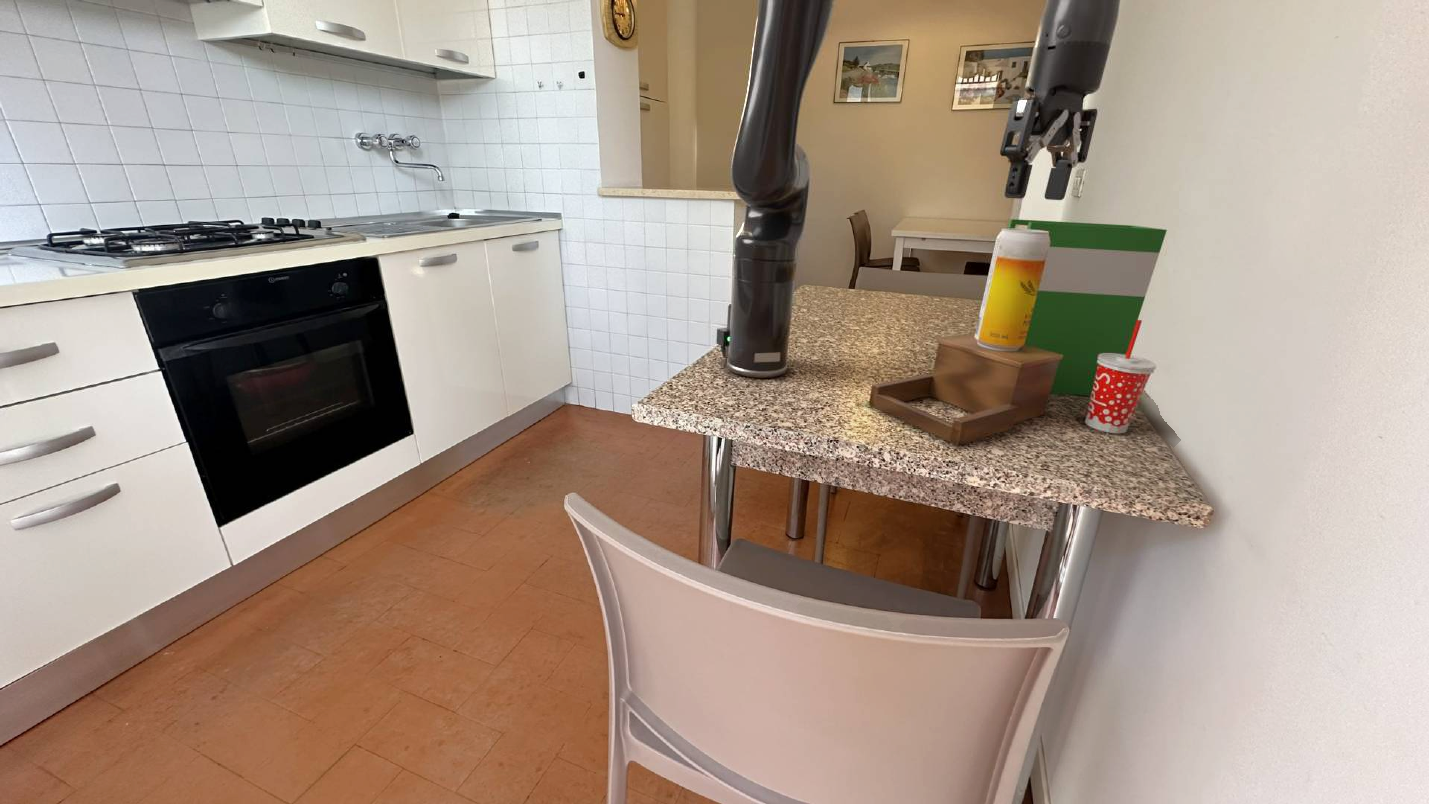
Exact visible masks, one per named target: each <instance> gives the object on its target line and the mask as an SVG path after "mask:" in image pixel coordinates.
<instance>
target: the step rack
mask: <svg viewBox="0 0 1429 804" xmlns="http://www.w3.org/2000/svg"><path fill="white" fill-rule="evenodd" d="M975 333H976V332H971V333H965V334H959V335H953V336H946V337H940V338H937V339H936V343H937V349H936V354H935V360H934V365H933V370H932V375H931V374H929V373H923V374H919V375H914V376H908V377H903V378H898V379H894V380H889V381H884V382H879V383H878V382H877V383H874V384H871V389H870V395H869V401H868V406H870V407H872V408H874V409H876V410H879V411H881V412H882V413H885V414H887V415H889V416H892V417H894V418H896V419H898V420H899V421H903V422H905V423H907V424H910V425H911V426H914V427H915V428H917V429H920V430H922V431H925V432H926V433H928V434H931V435H933V436H935V437H937V438H939V439H942V440H943V441H947V442H948V443H951V444H953V445H954V446H957V447H959V446H961V445H965V444H968V443H971V442H975V441H977V440H981V439H985V438H988V437H990V436H993V435H997V434H1000V433H1003V432H1007V431H1010V430H1013V428H1014V424H1015V423H1019V422H1023V421H1026V420H1029V419H1032V418H1036V417H1039V416H1043V415H1045V414H1046V410H1047V406H1048V403H1049V399H1050V396H1051V393H1050V392H1051V389H1052V385H1053V382H1054V378H1055V375H1056V371H1057V367H1058V364H1059V360H1060V359H1062V358H1063V355H1062V354H1058V353H1054V352H1051V351H1047V350H1043V349H1039V348H1036V347H1032V346H1028V345H1025V344H1024V345H1023V346H1021V347H1020V348H1019V349H1018V350H1017V351H997V350H992V349H988V348H984V347H982V346H980V345H978V341H977V340H976V338H975ZM925 397H932V398H935V399H936V400H939V401H942V402H945V403H947V404H949V405H951V406H955V407H956V408H959V409H962V410H965V411H966V412H969V413H970V414H966V415H963V416H959V417H955V418H953V421H952V422H951V421H948V420H946V419H943V418H942V417H939V416H936V415H935V414H932V413H930V412H927V411H925V410H922V409H921V408H918V407H916V406H913V405H911V404H908V403H905V402H907V401H912V400H916V399H921V398H925Z"/></svg>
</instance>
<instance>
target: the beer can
mask: <svg viewBox="0 0 1429 804" xmlns="http://www.w3.org/2000/svg"><path fill="white" fill-rule="evenodd" d="M1049 246H1050V238H1049V232H1048V231H1042V230H1032V229H1019V228H1008V227H1003V228H1001V231H1000V232H999V233H998V235H997V236H996V239H995V243H994V248H993V253H992V257H991V261H990V266H989V270H988V275H987V278H986V283H985V288H984V293H983V296H982V301H981V307H980V310H979V316H978V320H977V324H976V328H975V332H974V333H975V338H976V340H977V341H978V345H980V346H982V347H984V348H988V349H992V350H997V351H1017V350H1018V349H1019V348H1020V347H1021V346H1023V345H1024V344H1025V340H1026V336H1027V332H1028V328H1029V324H1030V320H1031V316H1032V312H1033V308H1034V304H1035V301H1036V297H1037V293H1038V289H1039V285H1040V281H1041V277H1042V273H1043V269H1044V265H1045V261H1046V257H1047V254H1048V250H1049Z"/></svg>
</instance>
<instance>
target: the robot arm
mask: <svg viewBox="0 0 1429 804" xmlns="http://www.w3.org/2000/svg"><path fill="white" fill-rule="evenodd" d="M835 1H836V0H758V3H757V15H756V23H755V30H754V38H753V44H752V45H753V46H752V54H751V60H750V70H749V79H748V86H747V91H746V92H747V93H746V96H745V102H744V107H743V111H742V115H741V119H740V120H741V121H740V124H739V129H738V133H737V137H736V140H735V146H734V149H733V154H732V160H731V167H730V178H731V183H732V187H733V189H734V192H735V194H736V196H737V197H738V198H739V199H740V200H741V202H742V203H744V204H745V213H744V219H743V223H742V226H741V228H740V229H739V232H738V233H736V236H735V237H734V238H735V239H734V246H733V262H732V281H731V283H732V284H731V299H730V303H729V304H728V306H727V317H726V318H727V320H726V321H727V322H726V327H719V328H716V340H715V341H716V342H715V343H716V344H717V345H718V346H720V350H721V354H722V358H723V359H724V363H725V364H726V368H727V370H729V371H730V372H732V373H734V374H736V375H739V376H743V377H749V378H755V379H757V378H758V379H764V378H765V379H767V378H777V377H780V376H783V375H785V374H786V373H787V371H788V356H789V347H790V335H791V325H792V315H793V314H792V313H793V305H794V295H795V286H796V285H795V283H796V273H797V263H798V252H799V247H800V244H801V241H802V238H803V235H804V230H805V225H806V224H805V223H806V216H807V207H808V202H809V201H808V200H809V193H810V184H811V183H810V181H811V180H810V179H811V168H810V161H809V158H808V156H807V154H806V152H805V150H804V149H803V147H802V146H800V145H799V144H798V143H797V136H798V135H797V134H798V125H799V118H800V112H801V107H802V100H803V97H804V92H805V89H806V86H807V83H808V80H809V78H810V75H811V73H812V71H813V68H814V66H815V64H816V62H817V59H818V57H819V55H820V52H821V49H822V47H823V45H824V42H825V40H826V37H827V34H828V31H829V28H830V23H831V20H832V15H833V11H834V7H835ZM1120 4H1121V0H1046V3H1045V6H1044V9H1043V12H1042V15H1041V18H1040V20H1039V24H1038V28H1037V33H1036V37H1035V41H1034V46H1033V50H1032V55H1031V59H1030V64H1029V68H1028V73H1027V78H1026V82H1025V86H1024V91H1025V93H1026V94H1028V95H1030V96H1027V97H1026V96H1025V97H1016V98H1014V99H1013V100H1012V102H1011V106H1010V110H1009V113H1008V118H1007V121H1006V126H1005V129H1004V134H1003V138H1002V142H1001V146H1000V150H999V154H1000V156H1001V157H1006V158H1007V161H1008V163H1009V164H1010V167H1009V171H1008V176H1007V179H1006V184H1005V191H1004V197H1005V198H1006V199H1018V200H1021V199H1024V198H1025V197H1026V194H1027V190H1028V185H1029V181H1030V178H1031V174H1032V169H1033V164H1031V163H1033V161H1034V160H1035V159H1036V157H1037V155H1038V154H1039V152H1040V151H1041V150H1042V149H1045V148H1046V151H1047V152H1048V153H1050V156H1051V161H1052V162H1051V163H1052V167H1050V171H1049V176H1048V179H1047V183H1046V187H1045V190H1044V191H1045V192H1044V195H1043V197H1044V199H1045V200H1049V201H1063V200H1064V199H1065V197H1066V193H1067V190H1068V186H1069V182H1070V178H1071V175H1072V171H1073V168H1076V167H1077V165H1078V164H1083V163H1085V162H1086V161H1087V158H1088V154H1089V150H1090V146H1091V142H1092V138H1093V135H1094V134H1093V133H1094V129H1095V125H1096V122H1097V117H1098V109H1097V108H1084V99H1085V98H1086V96H1088V95H1092V94H1095V93H1096V92H1097V91H1099V89H1100V88H1101V84H1102V79H1103V76H1104V72H1105V68H1106V65H1107V61H1108V57H1109V53H1110V51H1111V50H1110V49H1111V46H1112V43H1113V38H1114V35H1115V32H1116V27H1117V23H1118V19H1119V12H1120ZM1016 134H1017V136H1016V137H1015V135H1016ZM1014 137H1015V142H1016V143H1015V144H1013V142H1014ZM1078 148H1079V151H1078Z"/></svg>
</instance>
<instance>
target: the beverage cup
mask: <svg viewBox="0 0 1429 804" xmlns="http://www.w3.org/2000/svg"><path fill="white" fill-rule="evenodd" d="M1142 322H1143V320H1142V319H1138V320H1137V323H1136V326H1135V329H1134V332H1133V335H1132V338H1131V341H1130V344H1129V348H1128V351H1127V354H1126V355H1124V354H1116V353H1102V354H1099V355H1098V360H1097V363H1098V368H1097V373H1096V377H1095V381H1094V385H1093V390H1092V394H1091V395H1090V399H1089V403H1088V407H1087V412H1086V416H1085V419H1084V423H1085V425H1087V426H1088V427H1089V428H1092V429H1094V430H1097V431H1101V432H1105V433H1110V434H1124V433H1126V432H1127V431H1128V427H1129V426H1130V423H1131V421H1132V418H1133V416H1134V415H1135V411H1136V409H1137V407H1138V405H1139V402H1140V400H1141V398H1142V395H1143V393H1144V390H1145V388H1146V386H1147V384H1148V381H1149V379H1150V376H1151V374H1154V373H1155V370H1156V369H1157V363H1155V362H1154V361H1151V360H1149V359H1145V358H1144V357H1143V358H1142V357H1138V356H1134V355H1132V353H1133V350H1134V346H1135V343H1136V340H1137V337H1138V334H1139V331H1140V328H1141V325H1142Z"/></svg>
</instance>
